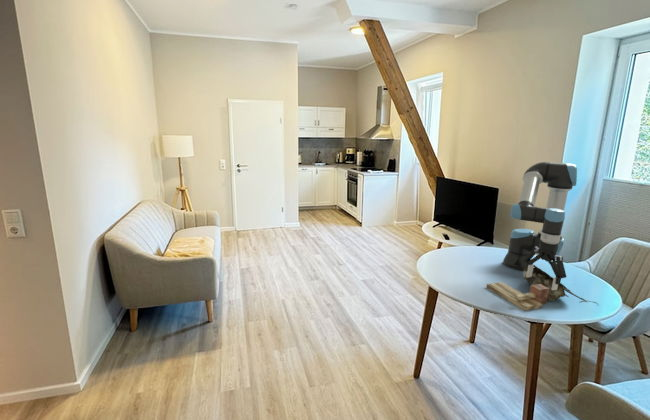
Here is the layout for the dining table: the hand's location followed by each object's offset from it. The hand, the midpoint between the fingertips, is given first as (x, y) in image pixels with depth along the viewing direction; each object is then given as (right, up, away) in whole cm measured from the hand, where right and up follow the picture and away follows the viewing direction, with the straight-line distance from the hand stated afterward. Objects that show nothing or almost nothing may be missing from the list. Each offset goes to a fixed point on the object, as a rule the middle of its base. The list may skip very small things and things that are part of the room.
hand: (541, 283), depth 163 cm
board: (-11, -8, +6) cm, 15 cm away
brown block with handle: (-6, -10, 0) cm, 11 cm away
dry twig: (+23, -9, +12) cm, 28 cm away
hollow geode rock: (+10, -7, +15) cm, 19 cm away
